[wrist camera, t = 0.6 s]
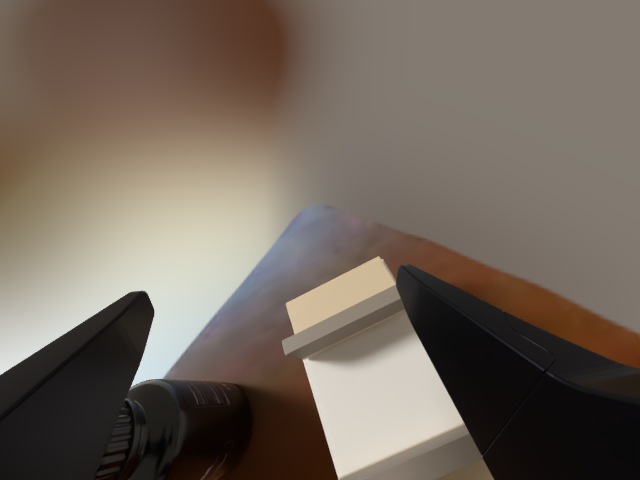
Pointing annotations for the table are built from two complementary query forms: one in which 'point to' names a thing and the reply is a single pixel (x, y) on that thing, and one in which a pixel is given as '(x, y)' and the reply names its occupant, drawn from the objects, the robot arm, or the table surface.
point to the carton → (378, 394)
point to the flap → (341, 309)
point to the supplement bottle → (177, 432)
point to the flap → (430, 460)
